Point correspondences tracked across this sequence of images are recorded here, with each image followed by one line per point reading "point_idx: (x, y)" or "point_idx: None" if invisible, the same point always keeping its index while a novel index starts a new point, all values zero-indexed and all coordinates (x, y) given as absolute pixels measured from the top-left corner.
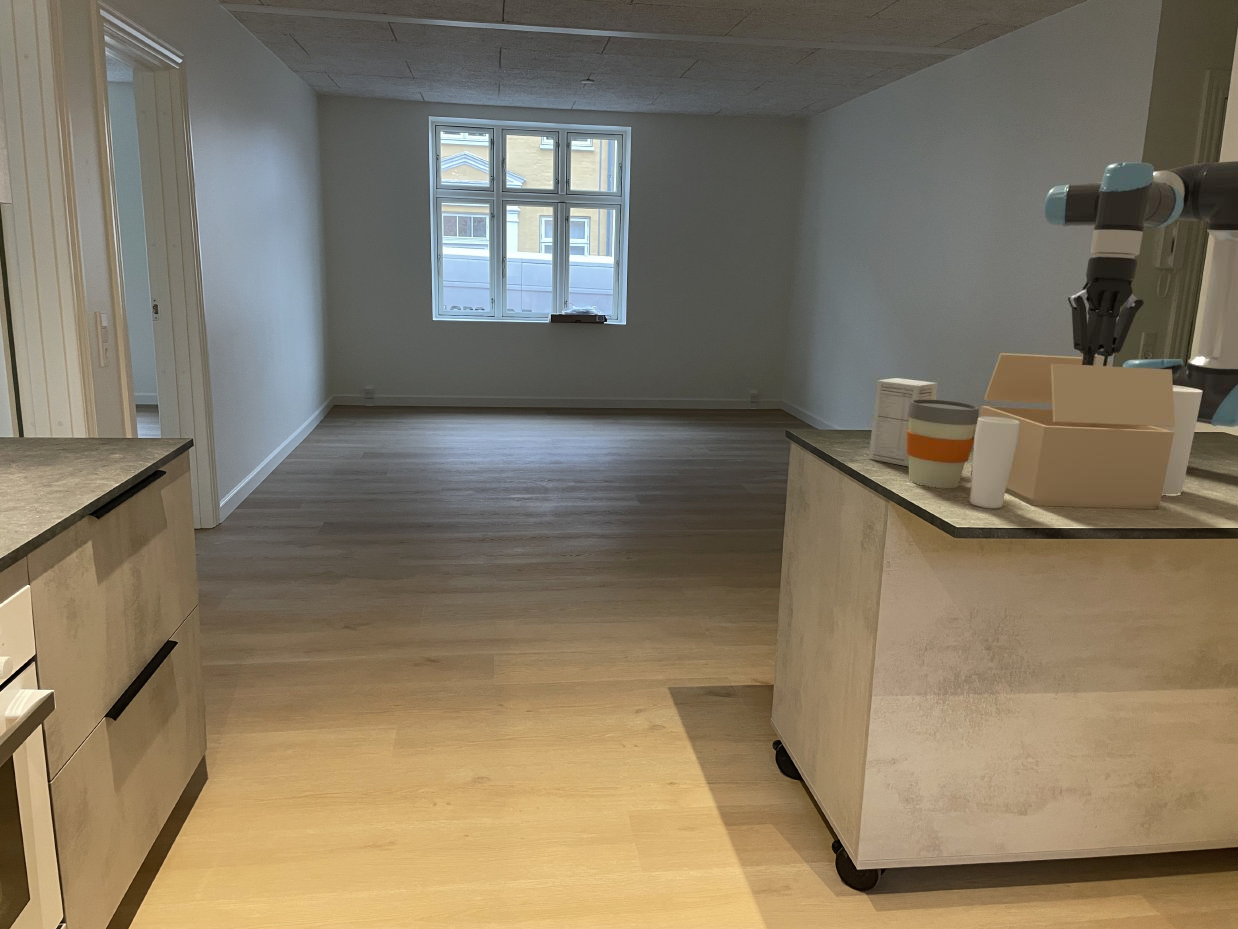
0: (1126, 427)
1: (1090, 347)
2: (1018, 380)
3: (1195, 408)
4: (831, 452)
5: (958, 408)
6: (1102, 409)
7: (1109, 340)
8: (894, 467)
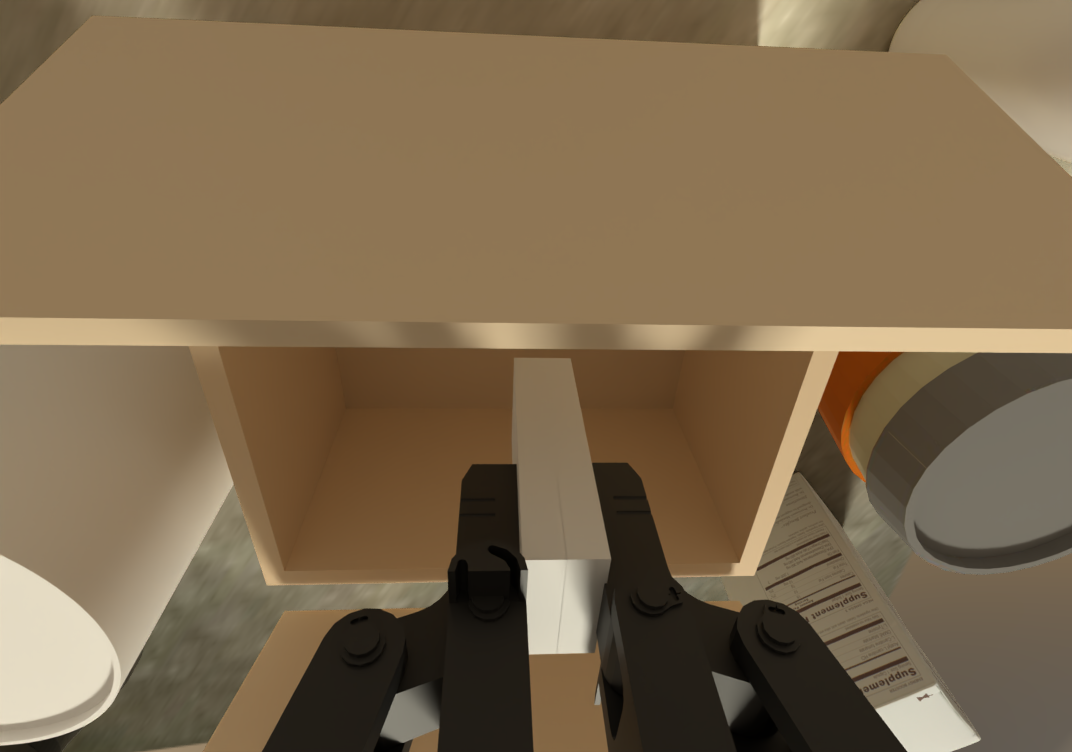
0: (244, 377)
1: (700, 647)
2: None
3: None
4: (888, 570)
5: (971, 476)
6: (643, 83)
7: (490, 748)
8: (841, 463)
